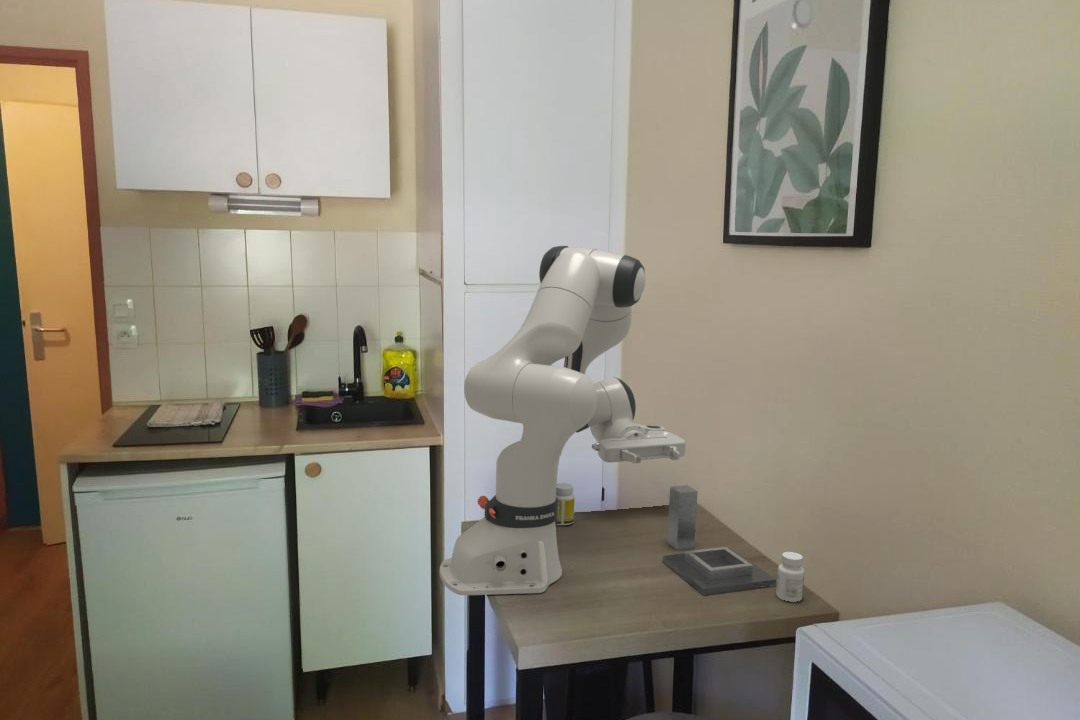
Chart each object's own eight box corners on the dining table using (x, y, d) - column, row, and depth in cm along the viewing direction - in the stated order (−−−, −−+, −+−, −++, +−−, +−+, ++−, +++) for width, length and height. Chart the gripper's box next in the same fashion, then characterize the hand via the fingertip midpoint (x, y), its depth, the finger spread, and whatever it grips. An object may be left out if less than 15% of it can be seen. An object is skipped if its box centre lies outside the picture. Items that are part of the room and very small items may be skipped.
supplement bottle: (574, 519, 168) (575, 483, 167) (573, 527, 164) (574, 489, 163) (552, 518, 169) (553, 481, 168) (550, 525, 164) (552, 488, 163)
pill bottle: (807, 599, 133) (811, 557, 132) (790, 605, 131) (794, 562, 130) (787, 589, 137) (790, 548, 136) (770, 594, 134) (773, 553, 133)
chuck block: (703, 595, 133) (704, 579, 133) (662, 561, 147) (663, 546, 147) (775, 585, 138) (776, 570, 138) (729, 553, 152) (730, 539, 152)
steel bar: (676, 550, 153) (680, 492, 151) (666, 542, 157) (670, 486, 155) (693, 548, 154) (697, 491, 153) (684, 540, 158) (687, 485, 156)
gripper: (589, 431, 174) (614, 447, 161) (668, 426, 181) (698, 441, 168) (588, 458, 175) (613, 476, 162) (667, 451, 182) (697, 468, 169)
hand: (657, 458), depth 165 cm, fingers open, 8 cm apart
